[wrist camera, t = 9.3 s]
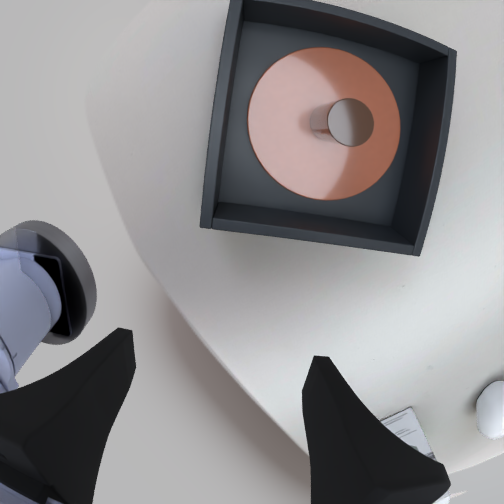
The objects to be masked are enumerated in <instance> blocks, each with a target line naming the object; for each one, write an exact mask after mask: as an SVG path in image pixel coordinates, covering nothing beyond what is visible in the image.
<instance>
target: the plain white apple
mask: <svg viewBox="0 0 504 504" xmlns="http://www.w3.org/2000/svg"><path fill="white" fill-rule="evenodd" d="M476 412H477V427H478V430H479V432H480V433H481V434H482V435H483V436H484V437H486V438H489V439H499V438H501V437H503V436H504V381H495V382H493V383H491V384H490V385H489V386H487V387H486V388H485V389H484V391H483V392H482V394H481V395H480V396H479V398H478V399H477V403H476Z"/></svg>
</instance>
